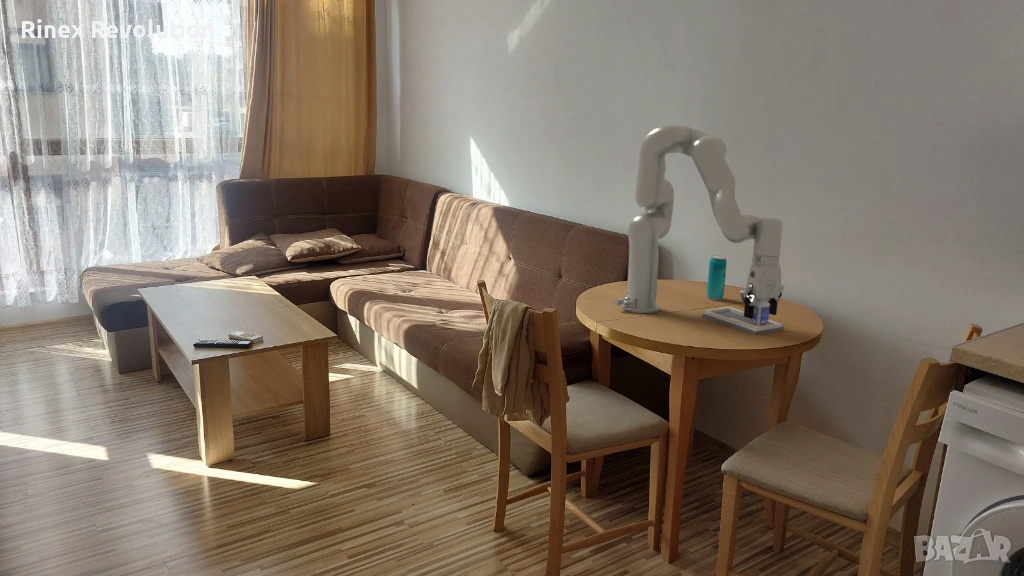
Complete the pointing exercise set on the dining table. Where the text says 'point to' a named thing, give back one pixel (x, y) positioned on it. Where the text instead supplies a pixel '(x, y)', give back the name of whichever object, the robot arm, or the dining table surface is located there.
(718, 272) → the beverage can
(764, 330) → the grey flat rectangular tray
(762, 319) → the pill bottle
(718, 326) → the dining table surface
